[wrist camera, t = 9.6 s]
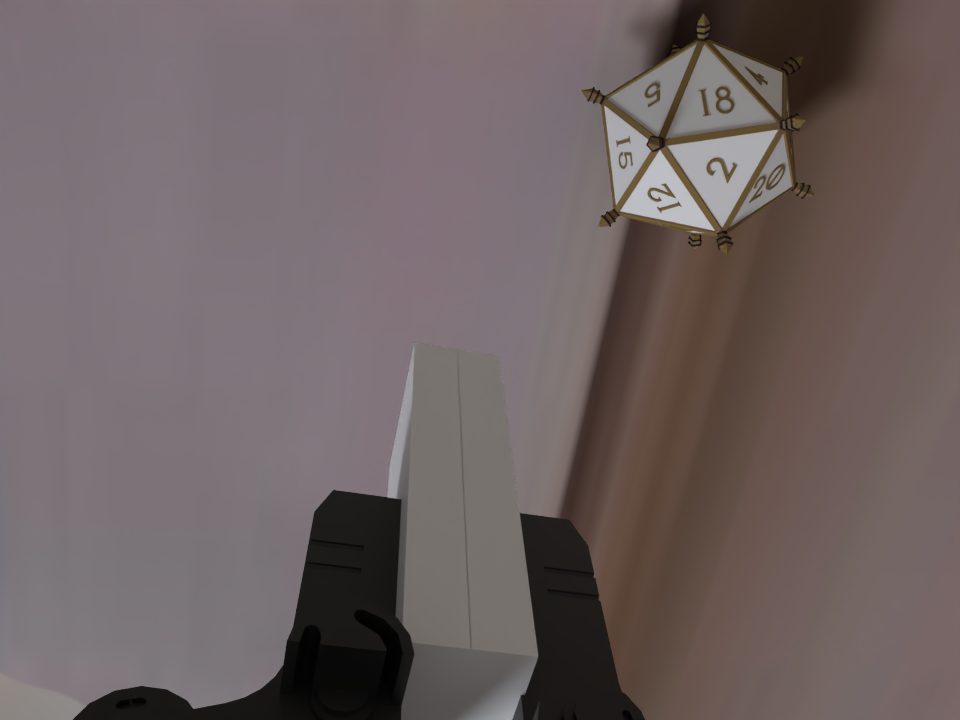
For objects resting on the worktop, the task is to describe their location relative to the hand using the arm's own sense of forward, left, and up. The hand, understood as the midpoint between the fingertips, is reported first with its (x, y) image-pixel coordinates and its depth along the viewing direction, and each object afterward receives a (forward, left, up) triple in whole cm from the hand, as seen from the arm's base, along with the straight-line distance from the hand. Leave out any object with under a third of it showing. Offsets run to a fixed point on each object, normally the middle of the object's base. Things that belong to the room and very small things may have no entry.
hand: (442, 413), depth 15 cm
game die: (+10, +2, -24) cm, 26 cm away
